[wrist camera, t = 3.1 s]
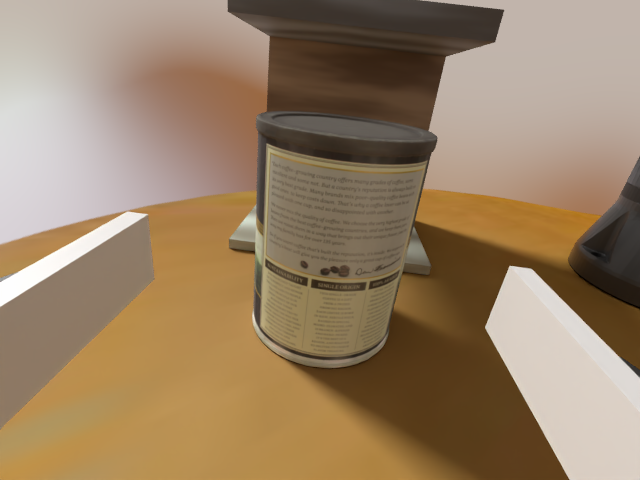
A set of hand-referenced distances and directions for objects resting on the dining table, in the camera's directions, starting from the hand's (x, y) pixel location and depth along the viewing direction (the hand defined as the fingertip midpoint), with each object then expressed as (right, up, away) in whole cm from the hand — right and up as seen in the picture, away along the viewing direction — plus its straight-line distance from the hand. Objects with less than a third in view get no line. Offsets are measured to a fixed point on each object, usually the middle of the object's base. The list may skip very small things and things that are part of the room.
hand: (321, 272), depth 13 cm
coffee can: (0, -5, +13) cm, 14 cm away
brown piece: (+1, +2, +28) cm, 29 cm away
